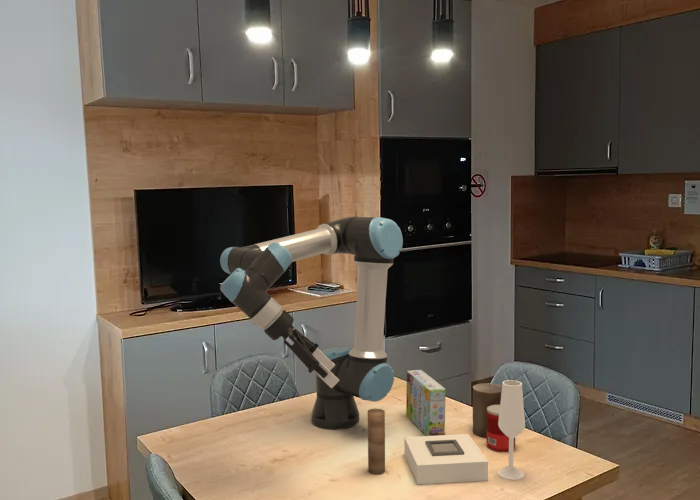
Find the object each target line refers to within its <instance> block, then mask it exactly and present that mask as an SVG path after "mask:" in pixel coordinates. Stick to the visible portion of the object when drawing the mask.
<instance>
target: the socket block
mask: <svg viewBox="0 0 700 500" xmlns="http://www.w3.org/2000/svg"><path fill="white" fill-rule="evenodd" d="M403 443H404V445H403V446H404V458H405V459H406V462H407V464H408V467H409V468H410V470H411V474H412V475H413V478H414V480H415V482H416V484H417V485H432V484H433V485H434V484H436V485H437V484H451V483H453V484H455V483H468V482H486V481H487V482H488V481H489V460H488V459H487V457H486V456H485V455H484V454H483V452H482V451H481V450H480V448H479V447H478V446H477V444H476V443H475V441H474V440H473V439H472V437H471V435H470V434H469V433H461V434H445V435H438V436H426V435H422V436H404V441H403Z"/></svg>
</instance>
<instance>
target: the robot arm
mask: <svg viewBox="0 0 700 500" xmlns="http://www.w3.org/2000/svg"><path fill="white" fill-rule="evenodd" d="M403 240H404V238H403V234H402V231H401V228H400V226H398V224H397V223H396V222H395V221H394V220H392V219H389V218H385V217H380V216H377V217H374V216H373V217H369V216H367V217H366V216H348V217H344V218H341V219H336V220H334V221H330V222H325V223H322V224H320V225H318V226H317V228H316V229H311V230H307V231H303V232H299V233H296V234H292V235H288V236H287V235H286V236H283V237H278V238H274V239H272V240H267V241H262V242H258V243H254V244H250V245H246V246H241V247H238V246H231V247H227V248H225V249H224V250H223V251H222V253H221V255H220V258H219V262H220V267H221V269H222V270H223V272H225V273H227V274H229V276H228V277H227V278H226V279H225V280H224V281H223V282H222V283H221V285H220V288H219V289H220V291H221V292H222V293H223V295H224V296H225V297H226V298H227V299H228V300H229V301H230V303H232V304H234V305H235V306H236V307H237V308H238V309H239V310H240V311H241V312H242V313H243V314H245V316H247V317H248V318H249V319H250V320H251V324H252V325H253V326H255V325H256V326H258V327H259V329H261V330H263V331H264V333H265V335H267V336H268V337H269V338H270V339H271V340H272V341H276V340H279V338H281V337H282V338H283V339H284V341H283V344H284V345H286V346H287V347H288V349H290V350H291V351H292V352H293V353H294V355H296V357H297V358H298V359H299V360H300V361H301V363H302V364H304V366H305V367H306V368H307V369H308V370H307V372H309V373H310V374H311V373H314V374H315V382H316V383H315V384H316V386H315V387H316V388H315V389H316V398H315V403H314V404H313V407H312V411H311V414H310V415H311V423H312V425H314V426H315V427H318V428H321V429H325V430H326V429H327V430H341V429H342V430H343V429H349V428H351V427H353V426H356V425H358V423H359V422H360V412H359V409H358V406H357V403H356V399H355V397H356V398H359V399H361V400H363V401H369V402H379V401H382V400H383V399H384V398H385V397H387V395H388V394H389V393H390V391H391V390H392V387H393V385H394V381H395V371H394V370H393V367H392V366H391V365H389V363H388V354H387V353H386V351H384V348H383V346H384V335H385V333H384V331H385V319H386V317H385V315H386V299H387V286H388V284H387V283H388V272H389V271H388V269H389V268H391V267H392V266H393V265H394V259H395V258H396V257H398V256H399V255H400V252H401V251H402V250H403V244H404V241H403ZM321 254H324V255H325V256H331V255H335V254H343V255H344V254H347V255H354V256H353V261H354V263H355V265H356V266H357V267H358V274H357V275H358V276H357V291H356V293H357V294H356V308H355V309H356V311H355V325H354V342H353V343H354V344H353V348H352V347H350V346H338V347H330V348H325V349H321V350H320V349H319V344H318V343H317V342H315V343H314V342H313V341H312V340H310V339H309V338H308V337H306V336H305V335H304V334H303V333H302V332H300V331H299V330H298V329H297V328H296V327H295V326H294V325H293V323H294V321H295V319H294V317H293V316H292V315H291V314H290V313H289V312H288V311H287V310H285V309H283V307H282V305H281V304H280V303H279V302H278V301H276V300H275V298H273V297H272V296H271V295H270V294H269V293H268V292H267V291H269V290H270V288H271V287H272V286H273V285H274V283H276V281H278V279H280V277H281V276H282V275H283V274H284V273H285V272H286V270H287V269H288V268H289V266H291V264H292V263H293V262H296V261H300V260H304V259H307V258H311V257H312V258H313V257H315V256H319V255H321Z"/></svg>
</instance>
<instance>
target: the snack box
mask: <svg viewBox="0 0 700 500" xmlns="http://www.w3.org/2000/svg"><path fill="white" fill-rule="evenodd" d="M446 392H447V391H446V388H445V387H443V386H442V385H441V384H440V383H439V382H437V381H436V380H435V379H434V378H432V377H431V376H429V375H428V374H427V373H426V372H425V371H423V369H413V370H407V371H406V401H405V403H406V407H405V408H406V410H405V413H406V414H405V415H406V417H407V418H409V420H410V421H411V422H412V423H413V424H414V425H415V426H416V427H417V428H418V429H419V430H420V432H422V433H423V435H424V436H438V435H446V434H445V433H446V432H445V427H446V423H445V422H446V400H447V399H446V398H447V397H446V395H447V394H446Z"/></svg>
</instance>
